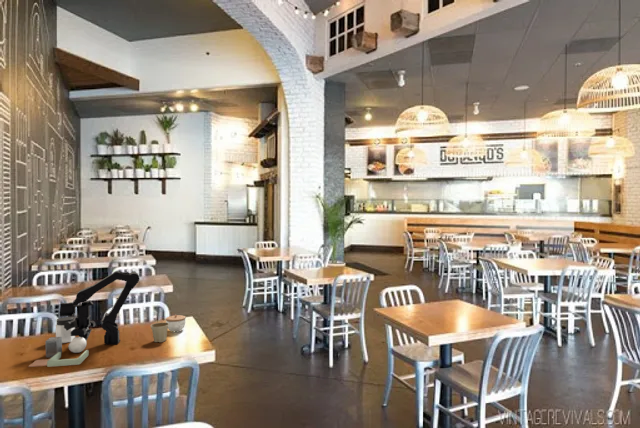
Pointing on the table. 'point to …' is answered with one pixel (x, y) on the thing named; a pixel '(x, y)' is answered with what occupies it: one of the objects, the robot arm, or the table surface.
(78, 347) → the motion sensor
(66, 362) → the frame
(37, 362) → the terracotta mat
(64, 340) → the jar
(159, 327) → the flower pot
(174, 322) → the lidded jar
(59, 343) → the grey block
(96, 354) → the table surface
